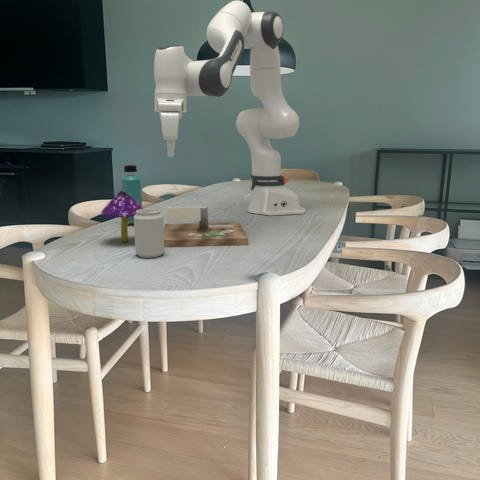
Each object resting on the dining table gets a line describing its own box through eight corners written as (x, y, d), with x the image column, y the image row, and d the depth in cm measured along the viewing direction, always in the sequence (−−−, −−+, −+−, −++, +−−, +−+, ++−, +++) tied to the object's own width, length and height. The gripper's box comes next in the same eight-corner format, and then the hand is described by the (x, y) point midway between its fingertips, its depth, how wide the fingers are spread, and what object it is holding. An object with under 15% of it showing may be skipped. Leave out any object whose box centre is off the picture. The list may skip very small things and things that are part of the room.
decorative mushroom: (125, 249, 131) (122, 195, 128) (93, 243, 138) (89, 191, 134) (156, 240, 142) (154, 189, 138) (125, 235, 148) (122, 186, 144)
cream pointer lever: (232, 227, 149) (232, 206, 147) (233, 229, 146) (233, 207, 145) (167, 228, 147) (166, 207, 145) (167, 230, 144) (166, 208, 142)
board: (239, 228, 158) (239, 221, 158) (248, 244, 137) (248, 237, 136) (165, 230, 155) (164, 223, 155) (162, 247, 134) (162, 239, 134)
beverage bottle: (146, 223, 166) (144, 164, 161) (136, 227, 160) (133, 166, 155) (130, 222, 168) (127, 164, 163) (119, 225, 162) (116, 165, 157)
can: (137, 251, 129) (135, 207, 127) (165, 251, 130) (164, 207, 127) (133, 259, 122) (131, 212, 119) (163, 258, 123) (161, 212, 120)
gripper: (161, 107, 144) (161, 154, 147) (157, 103, 125) (158, 157, 128) (182, 108, 145) (182, 154, 148) (181, 104, 125) (182, 158, 128)
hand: (171, 156), depth 138 cm, fingers open, 8 cm apart
